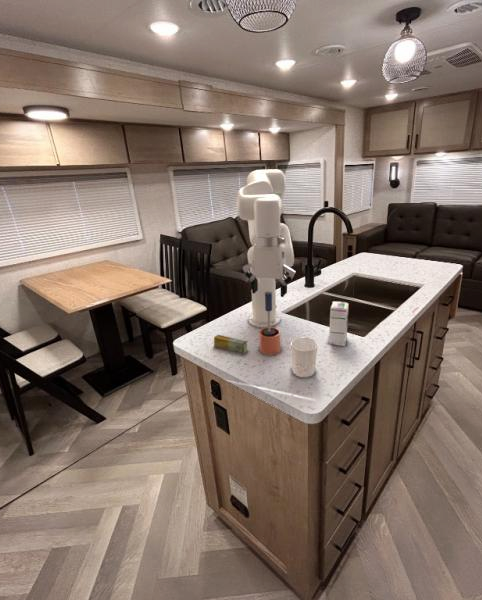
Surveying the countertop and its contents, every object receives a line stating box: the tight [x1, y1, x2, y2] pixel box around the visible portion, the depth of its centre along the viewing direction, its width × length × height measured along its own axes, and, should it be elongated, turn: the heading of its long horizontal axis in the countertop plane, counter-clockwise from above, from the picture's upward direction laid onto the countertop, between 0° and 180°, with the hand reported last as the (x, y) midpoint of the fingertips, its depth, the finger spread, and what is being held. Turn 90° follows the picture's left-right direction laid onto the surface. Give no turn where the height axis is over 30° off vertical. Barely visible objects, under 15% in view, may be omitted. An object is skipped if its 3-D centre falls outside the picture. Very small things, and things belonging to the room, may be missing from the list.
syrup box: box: [328, 301, 350, 347], centre depth 112 cm, size 6×6×14 cm
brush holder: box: [258, 326, 282, 356], centre depth 109 cm, size 7×7×7 cm
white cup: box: [290, 336, 319, 378], centre depth 97 cm, size 8×8×10 cm
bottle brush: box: [264, 292, 275, 337], centre depth 106 cm, size 4×4×21 cm
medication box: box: [213, 334, 248, 355], centre depth 110 cm, size 12×3×4 cm, turn 67°
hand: (269, 293), depth 103 cm, fingers open, 9 cm apart
